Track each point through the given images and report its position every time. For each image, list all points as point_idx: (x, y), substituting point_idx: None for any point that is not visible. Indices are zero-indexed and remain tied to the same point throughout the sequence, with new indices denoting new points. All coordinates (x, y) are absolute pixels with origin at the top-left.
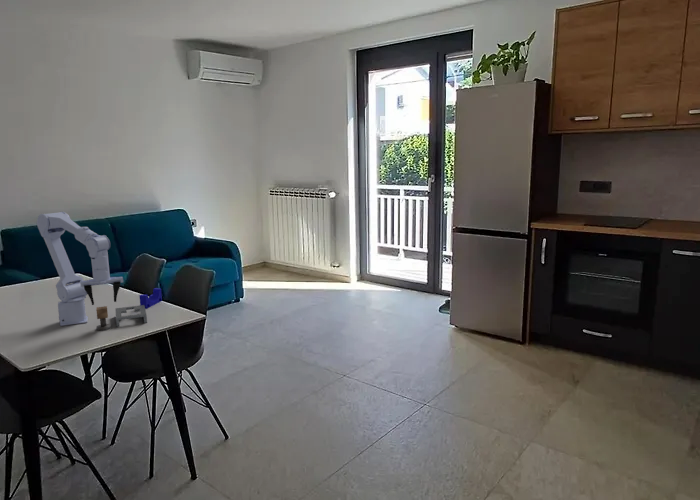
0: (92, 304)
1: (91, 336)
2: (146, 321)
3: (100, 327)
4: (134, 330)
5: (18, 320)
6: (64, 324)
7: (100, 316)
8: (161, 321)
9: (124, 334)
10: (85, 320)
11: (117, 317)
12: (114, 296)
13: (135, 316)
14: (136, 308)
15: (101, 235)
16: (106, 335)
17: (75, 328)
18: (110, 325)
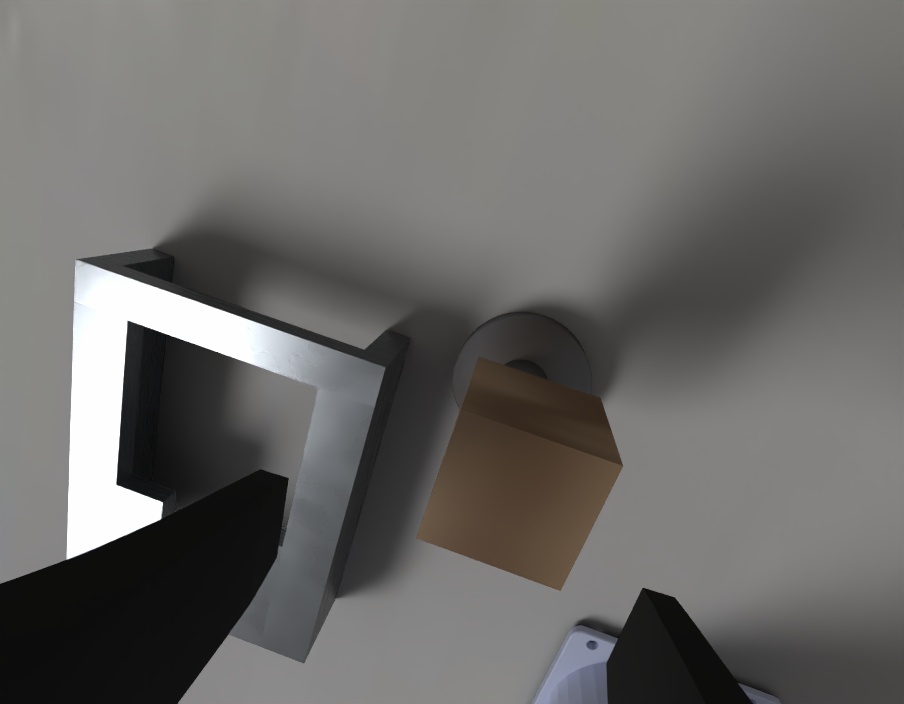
0: (675, 601)
1: (715, 216)
2: (146, 251)
3: (561, 364)
4: (301, 83)
5: None
6: (751, 693)
7: (563, 395)
8: (32, 184)
9: (423, 13)
10: (574, 659)
11: (363, 383)
12: (206, 531)
13: (192, 296)
14: (140, 525)
15: None
16: (584, 129)
17: (712, 561)
18: (462, 351)
